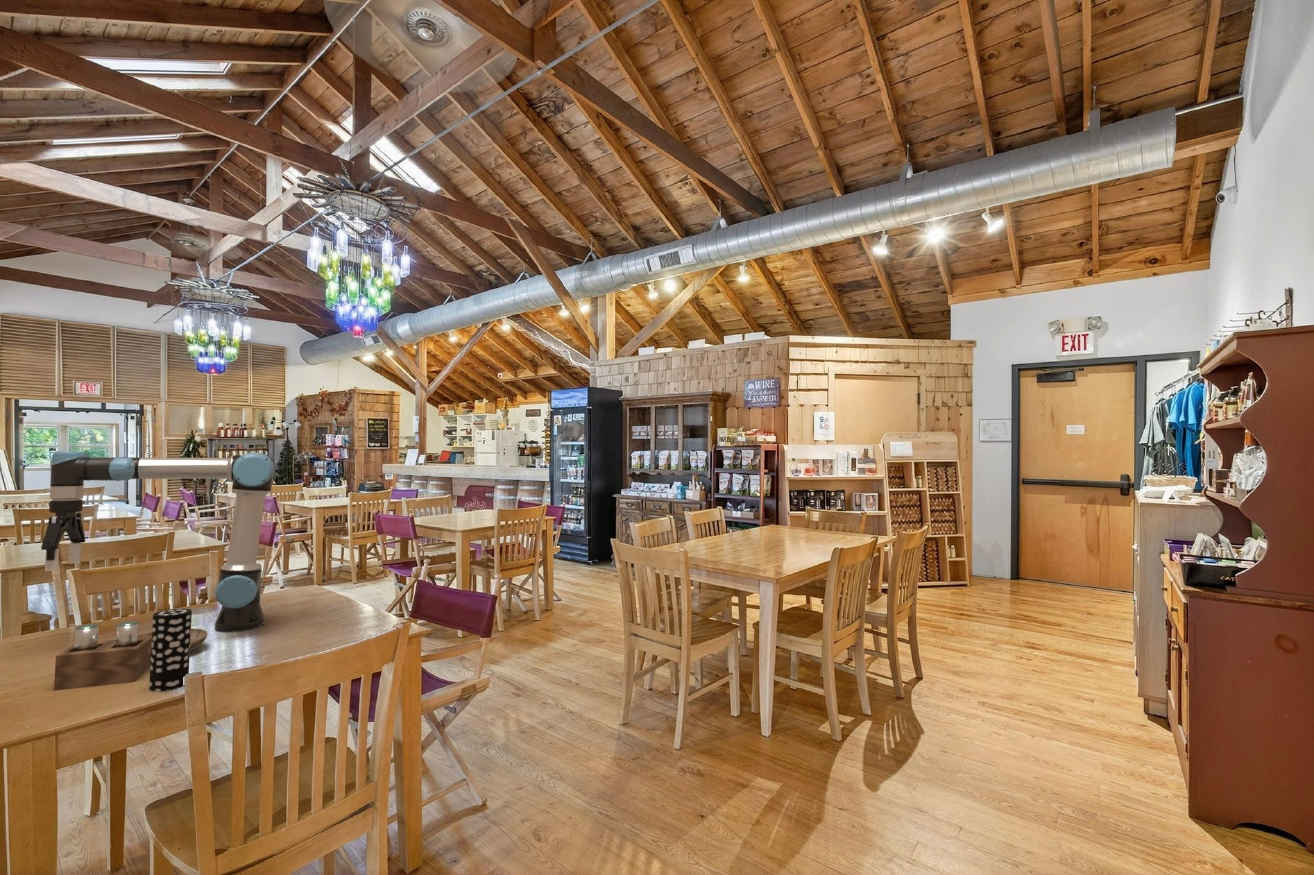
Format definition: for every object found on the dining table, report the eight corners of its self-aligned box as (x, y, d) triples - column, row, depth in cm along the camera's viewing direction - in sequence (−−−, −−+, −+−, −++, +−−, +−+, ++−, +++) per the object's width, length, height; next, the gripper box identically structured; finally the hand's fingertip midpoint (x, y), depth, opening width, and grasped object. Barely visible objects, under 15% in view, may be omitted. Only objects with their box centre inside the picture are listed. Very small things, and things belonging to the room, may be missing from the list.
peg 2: (140, 649, 172) (141, 620, 172) (133, 654, 168) (135, 624, 168) (119, 651, 170) (120, 621, 170) (112, 656, 166) (113, 626, 166)
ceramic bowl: (129, 647, 194) (130, 632, 194) (215, 639, 203) (216, 625, 203) (95, 671, 173) (96, 653, 173) (194, 661, 182) (194, 645, 182)
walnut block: (150, 667, 176) (152, 636, 176) (134, 681, 165) (136, 648, 165) (75, 674, 169) (77, 643, 169) (53, 690, 158) (55, 656, 158)
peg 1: (100, 653, 168) (101, 623, 169) (92, 658, 164) (94, 627, 164) (78, 655, 166) (79, 624, 167) (69, 660, 162) (71, 629, 162)
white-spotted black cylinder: (164, 680, 166) (167, 608, 167) (195, 679, 167) (199, 608, 168) (140, 691, 158) (145, 616, 159) (173, 691, 159) (177, 616, 159)
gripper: (71, 497, 197) (68, 561, 196) (27, 502, 174) (23, 575, 173) (100, 496, 200) (97, 559, 199) (61, 502, 177) (57, 573, 176)
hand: (63, 567), depth 186 cm, fingers open, 13 cm apart
